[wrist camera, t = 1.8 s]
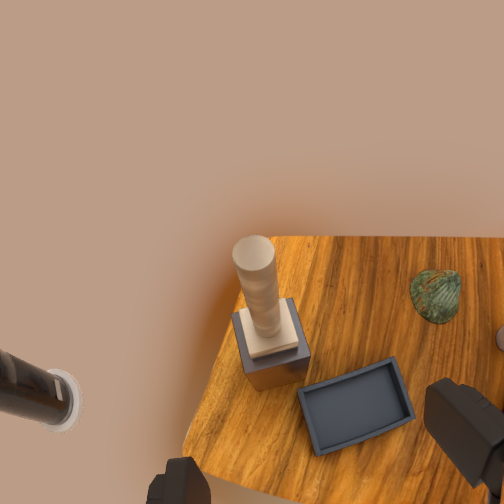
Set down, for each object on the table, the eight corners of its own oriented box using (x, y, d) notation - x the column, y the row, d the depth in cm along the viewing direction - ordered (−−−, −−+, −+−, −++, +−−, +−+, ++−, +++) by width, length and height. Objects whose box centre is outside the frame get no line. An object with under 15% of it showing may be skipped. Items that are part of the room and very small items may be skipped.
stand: (257, 391, 42) (244, 374, 31) (246, 347, 46) (230, 313, 34) (305, 378, 43) (311, 356, 31) (291, 335, 46) (292, 297, 35)
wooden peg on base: (252, 361, 31) (222, 296, 18) (242, 320, 34) (208, 231, 21) (298, 349, 31) (303, 275, 18) (285, 308, 34) (280, 213, 21)
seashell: (408, 272, 45) (449, 249, 46) (399, 283, 48) (440, 260, 50) (440, 327, 40) (479, 298, 41) (429, 334, 44) (468, 306, 45)
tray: (314, 455, 36) (316, 456, 34) (296, 392, 42) (297, 389, 39) (408, 419, 37) (416, 418, 34) (388, 360, 42) (394, 355, 40)
